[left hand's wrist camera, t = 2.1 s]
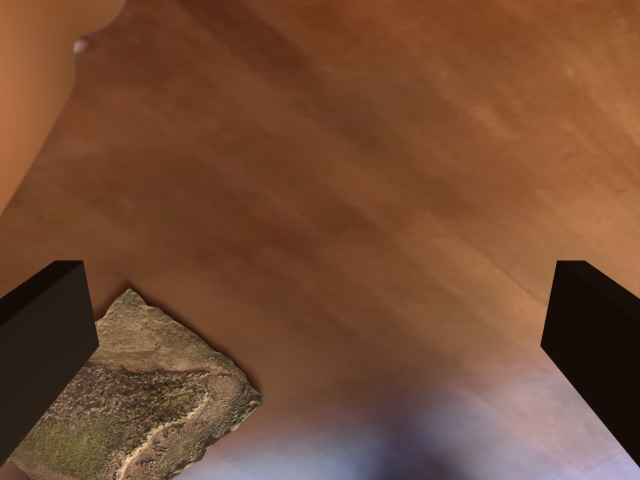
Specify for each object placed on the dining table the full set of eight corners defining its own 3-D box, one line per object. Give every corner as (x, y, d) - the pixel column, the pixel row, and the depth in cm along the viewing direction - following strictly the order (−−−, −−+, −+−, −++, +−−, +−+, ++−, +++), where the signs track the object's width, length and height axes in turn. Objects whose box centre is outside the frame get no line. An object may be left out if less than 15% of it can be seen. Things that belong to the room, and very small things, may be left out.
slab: (128, 532, 55) (125, 539, 54) (-23, 446, 50) (-29, 453, 49) (275, 390, 47) (275, 396, 47) (115, 276, 43) (111, 280, 42)
